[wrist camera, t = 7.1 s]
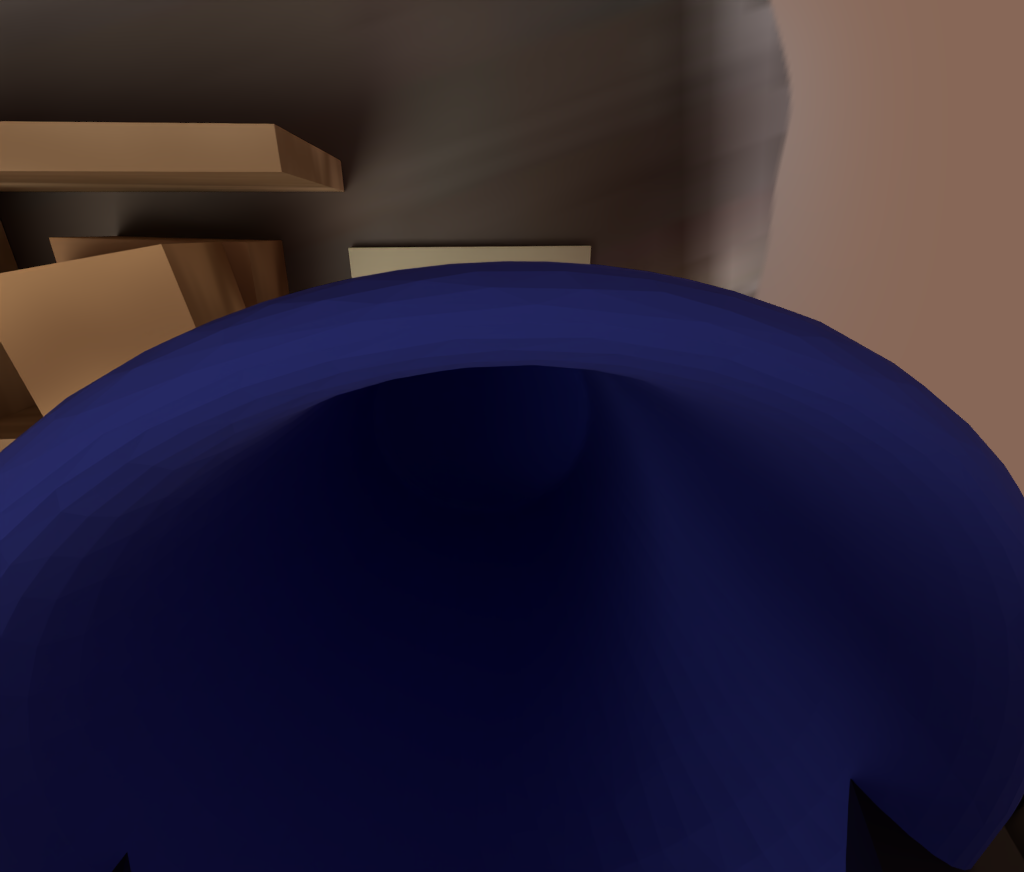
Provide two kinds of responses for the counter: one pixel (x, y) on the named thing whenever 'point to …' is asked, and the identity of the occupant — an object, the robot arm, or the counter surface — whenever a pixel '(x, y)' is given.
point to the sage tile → (456, 256)
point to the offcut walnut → (249, 259)
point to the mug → (505, 591)
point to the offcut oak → (108, 311)
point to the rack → (144, 183)
